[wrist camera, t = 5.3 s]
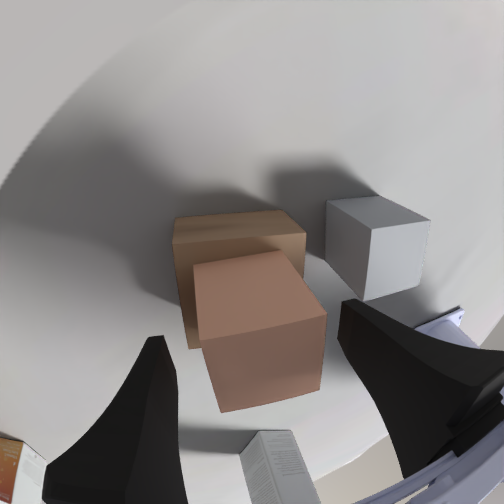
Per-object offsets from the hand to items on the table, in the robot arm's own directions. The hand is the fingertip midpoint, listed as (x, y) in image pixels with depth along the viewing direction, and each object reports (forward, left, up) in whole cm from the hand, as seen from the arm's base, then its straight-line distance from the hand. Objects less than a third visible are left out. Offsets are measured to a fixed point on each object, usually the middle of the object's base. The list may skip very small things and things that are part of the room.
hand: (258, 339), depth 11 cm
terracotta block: (0, 0, -3) cm, 3 cm away
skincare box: (-23, -1, -7) cm, 24 cm away
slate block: (+1, -8, -7) cm, 11 cm away
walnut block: (0, 0, -7) cm, 7 cm away
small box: (-24, +34, -7) cm, 42 cm away
